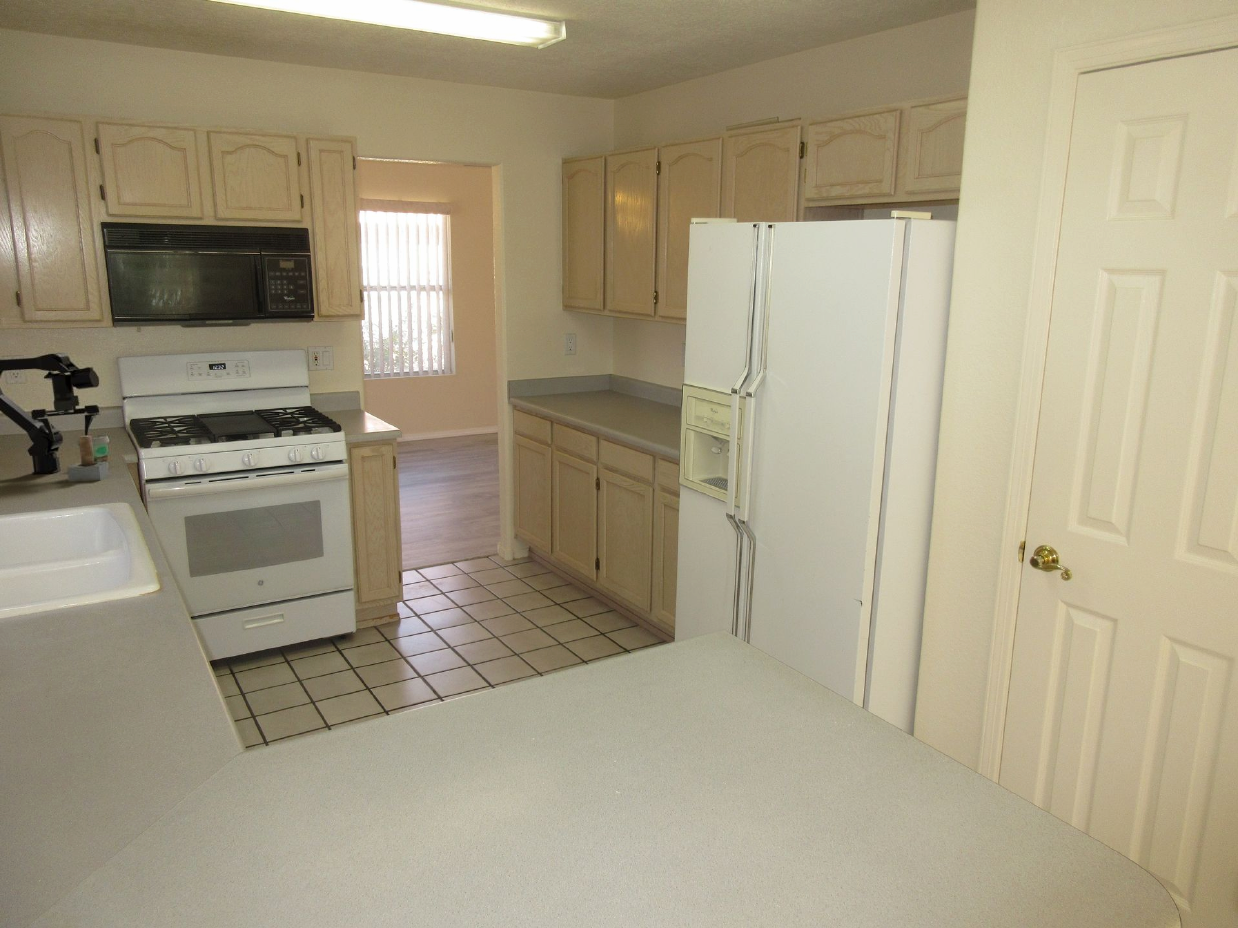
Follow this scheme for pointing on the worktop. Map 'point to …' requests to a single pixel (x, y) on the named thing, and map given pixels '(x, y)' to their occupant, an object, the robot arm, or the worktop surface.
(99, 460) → the food container
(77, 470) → the block
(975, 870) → the worktop surface
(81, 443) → the dowel
